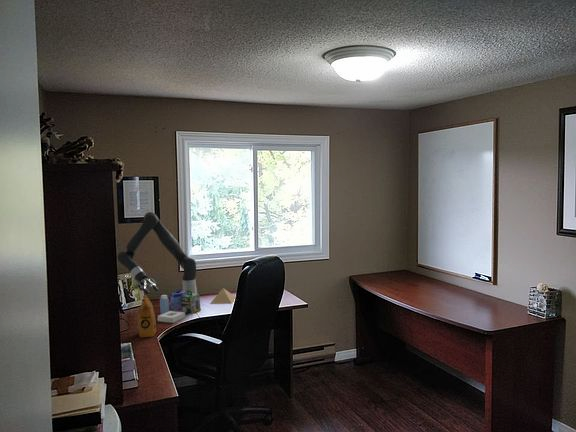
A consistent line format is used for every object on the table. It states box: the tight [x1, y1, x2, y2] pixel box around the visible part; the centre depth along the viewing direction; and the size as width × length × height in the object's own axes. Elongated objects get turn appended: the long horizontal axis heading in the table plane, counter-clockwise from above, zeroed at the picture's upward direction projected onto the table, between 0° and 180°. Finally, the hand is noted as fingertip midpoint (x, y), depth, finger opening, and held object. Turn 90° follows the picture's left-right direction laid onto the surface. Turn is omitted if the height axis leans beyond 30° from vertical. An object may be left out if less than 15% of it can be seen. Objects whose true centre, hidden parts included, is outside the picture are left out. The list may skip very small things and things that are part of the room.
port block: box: [157, 310, 186, 324], centre depth 285 cm, size 12×12×4 cm
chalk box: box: [181, 290, 201, 315], centre depth 302 cm, size 9×9×15 cm
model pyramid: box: [209, 288, 236, 305], centre depth 327 cm, size 17×17×10 cm
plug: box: [159, 294, 170, 315], centre depth 297 cm, size 4×4×13 cm
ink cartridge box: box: [169, 289, 186, 312], centre depth 307 cm, size 10×6×14 cm, turn 135°
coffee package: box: [137, 294, 157, 339], centre depth 257 cm, size 10×12×22 cm
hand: (153, 292), depth 300 cm, fingers open, 8 cm apart
